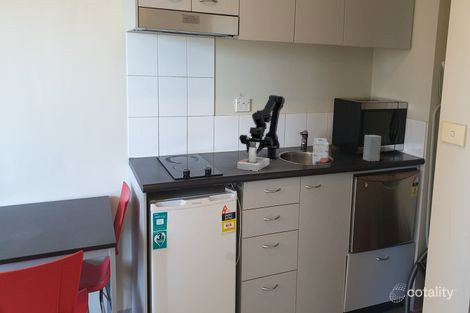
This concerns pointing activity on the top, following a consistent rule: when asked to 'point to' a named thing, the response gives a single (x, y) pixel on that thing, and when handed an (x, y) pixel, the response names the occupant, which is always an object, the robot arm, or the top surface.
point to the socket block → (259, 164)
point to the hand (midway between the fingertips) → (251, 152)
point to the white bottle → (252, 152)
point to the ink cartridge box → (320, 150)
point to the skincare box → (372, 148)
